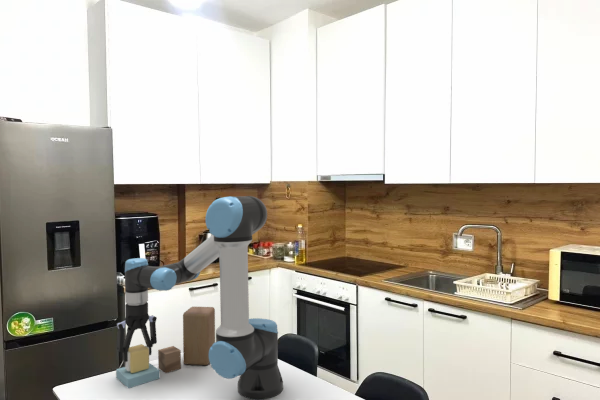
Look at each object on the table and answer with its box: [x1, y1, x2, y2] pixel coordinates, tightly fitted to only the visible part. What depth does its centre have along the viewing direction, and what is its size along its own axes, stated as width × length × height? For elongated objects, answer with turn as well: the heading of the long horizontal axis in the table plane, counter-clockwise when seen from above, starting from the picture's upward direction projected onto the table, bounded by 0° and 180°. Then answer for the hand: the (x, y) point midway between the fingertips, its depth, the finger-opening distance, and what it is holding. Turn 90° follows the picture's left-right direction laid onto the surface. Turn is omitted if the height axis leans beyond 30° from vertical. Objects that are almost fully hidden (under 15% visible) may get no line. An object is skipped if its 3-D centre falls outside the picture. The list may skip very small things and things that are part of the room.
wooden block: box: [182, 306, 216, 366], centre depth 169 cm, size 10×10×20 cm
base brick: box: [115, 362, 160, 389], centre depth 154 cm, size 11×11×3 cm
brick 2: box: [157, 345, 182, 374], centre depth 162 cm, size 6×6×7 cm
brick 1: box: [128, 343, 150, 373], centre depth 154 cm, size 6×6×7 cm
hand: (137, 367), depth 154 cm, fingers closed on brick 1, 6 cm apart
